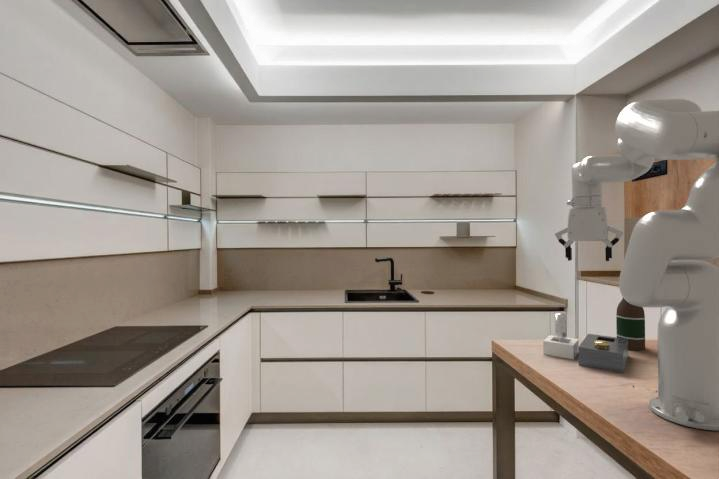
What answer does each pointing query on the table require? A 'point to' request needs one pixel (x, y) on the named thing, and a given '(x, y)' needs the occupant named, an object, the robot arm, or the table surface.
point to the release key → (601, 344)
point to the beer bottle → (631, 325)
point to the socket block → (604, 353)
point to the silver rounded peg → (560, 327)
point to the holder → (561, 347)
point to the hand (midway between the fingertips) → (588, 260)
